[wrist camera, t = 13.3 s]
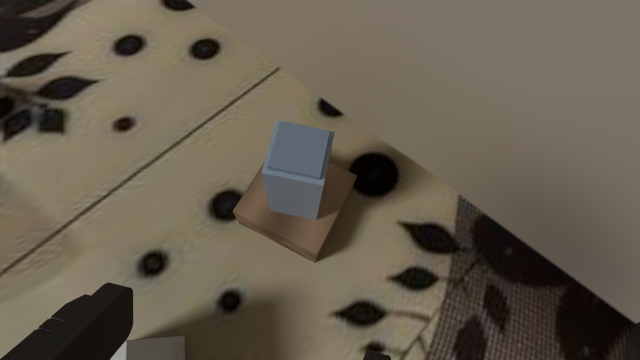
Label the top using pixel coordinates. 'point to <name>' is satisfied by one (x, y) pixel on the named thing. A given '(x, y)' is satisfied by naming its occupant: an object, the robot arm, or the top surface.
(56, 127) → the top surface
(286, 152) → the pale blue upright prism
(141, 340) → the supplement box
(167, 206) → the top surface
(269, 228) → the walnut box
